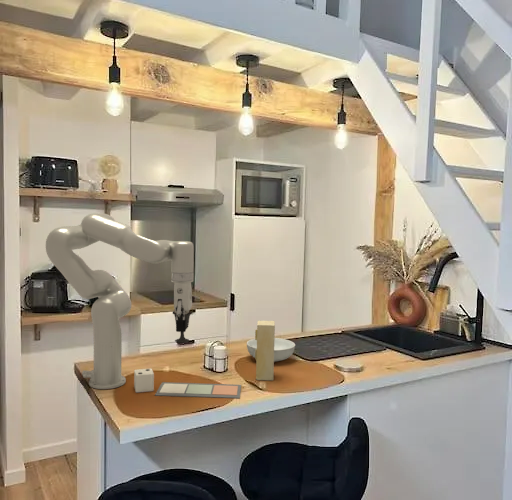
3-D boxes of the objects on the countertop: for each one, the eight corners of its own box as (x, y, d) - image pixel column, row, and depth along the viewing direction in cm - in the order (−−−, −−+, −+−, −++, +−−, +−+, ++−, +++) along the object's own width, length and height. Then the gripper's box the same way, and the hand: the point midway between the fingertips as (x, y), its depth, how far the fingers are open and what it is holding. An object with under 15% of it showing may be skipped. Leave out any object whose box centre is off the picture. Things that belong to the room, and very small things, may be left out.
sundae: (188, 344, 163) (188, 300, 162) (169, 342, 164) (169, 299, 163) (194, 339, 169) (195, 297, 168) (176, 337, 171) (176, 295, 169)
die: (135, 392, 164) (136, 375, 164) (134, 386, 170) (134, 369, 169) (153, 390, 166) (153, 373, 166) (151, 384, 172) (151, 368, 171)
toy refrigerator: (254, 373, 188) (256, 320, 186) (273, 373, 188) (275, 320, 186) (253, 380, 180) (255, 324, 178) (273, 380, 180) (275, 325, 178)
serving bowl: (304, 359, 207) (305, 343, 207) (272, 370, 192) (272, 353, 191) (268, 349, 221) (269, 334, 221) (235, 358, 206) (236, 342, 206)
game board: (154, 395, 162) (154, 394, 162) (162, 382, 174) (162, 381, 174) (239, 398, 162) (239, 397, 162) (241, 385, 174) (241, 384, 174)
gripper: (189, 280, 156) (189, 336, 158) (196, 274, 173) (196, 324, 175) (166, 280, 156) (166, 335, 158) (175, 273, 173) (175, 323, 175)
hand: (182, 329), depth 166 cm, fingers closed on sundae, 4 cm apart
